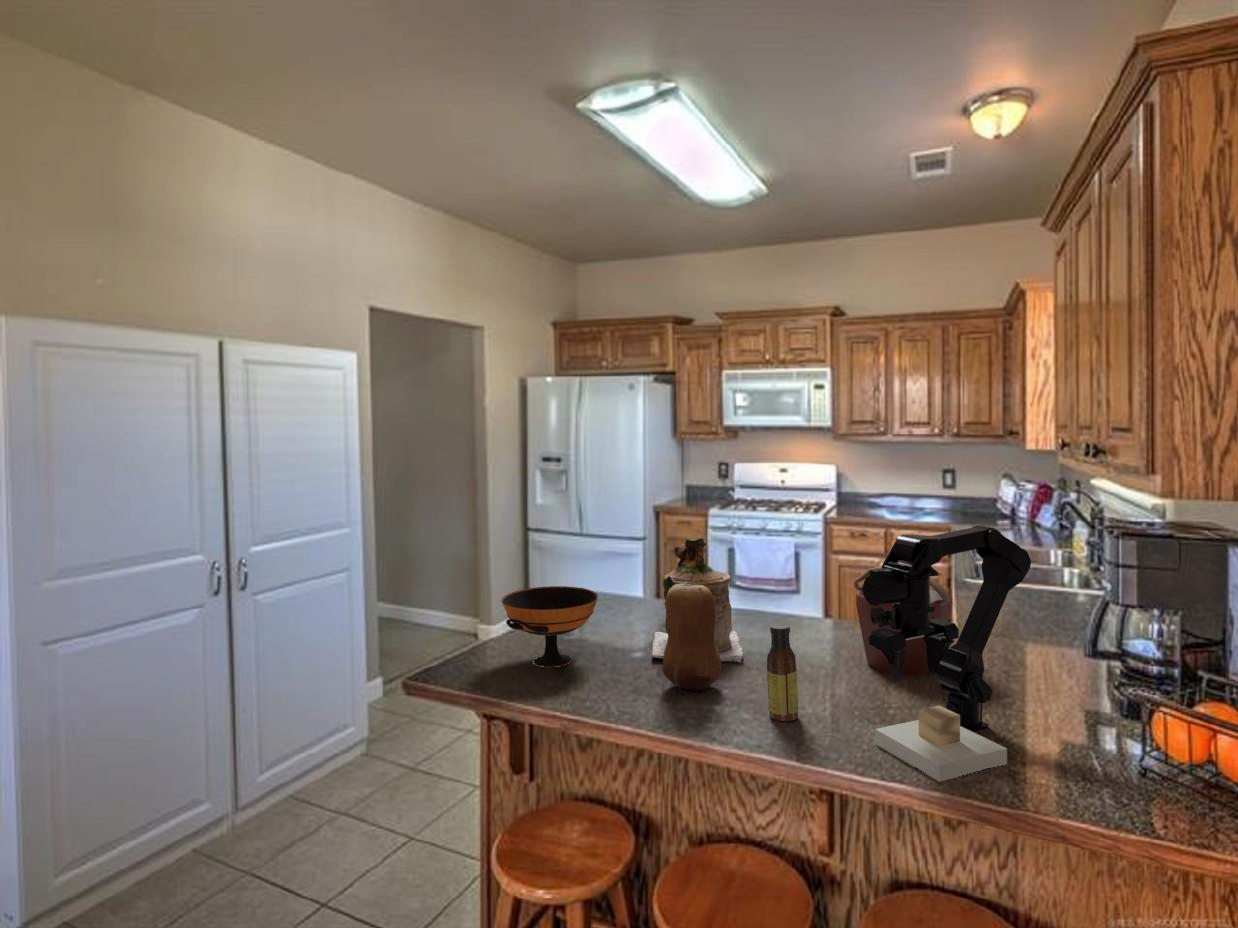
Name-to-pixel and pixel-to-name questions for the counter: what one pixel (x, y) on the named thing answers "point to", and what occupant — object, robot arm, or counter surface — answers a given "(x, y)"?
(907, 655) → the bucket
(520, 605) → the cup
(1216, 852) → the counter surface
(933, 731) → the pine cube
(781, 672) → the sauce bottle
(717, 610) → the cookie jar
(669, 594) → the butternut squash
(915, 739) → the plinth
